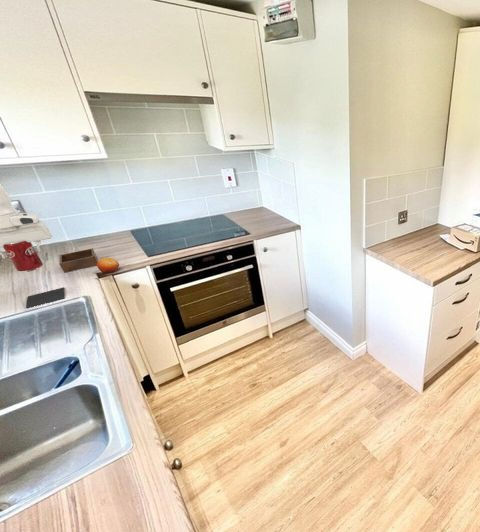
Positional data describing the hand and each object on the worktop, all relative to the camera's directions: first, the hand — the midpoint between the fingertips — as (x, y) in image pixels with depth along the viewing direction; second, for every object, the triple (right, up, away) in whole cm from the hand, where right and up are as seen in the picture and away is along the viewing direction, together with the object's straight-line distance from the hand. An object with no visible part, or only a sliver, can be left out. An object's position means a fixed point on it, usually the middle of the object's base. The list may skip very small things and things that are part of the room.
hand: (23, 254), depth 125 cm
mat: (0, -18, +8) cm, 20 cm away
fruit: (+8, -7, +29) cm, 31 cm away
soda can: (0, -6, +3) cm, 6 cm away
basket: (-12, -4, +35) cm, 37 cm away
